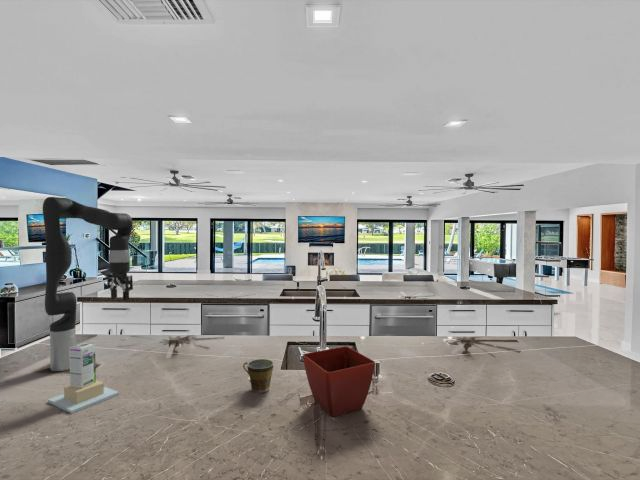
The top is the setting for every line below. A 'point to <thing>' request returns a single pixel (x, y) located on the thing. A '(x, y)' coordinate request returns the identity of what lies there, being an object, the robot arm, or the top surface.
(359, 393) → the plant pot
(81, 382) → the syrup box
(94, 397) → the build base
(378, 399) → the top surface
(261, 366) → the ceramic cup
